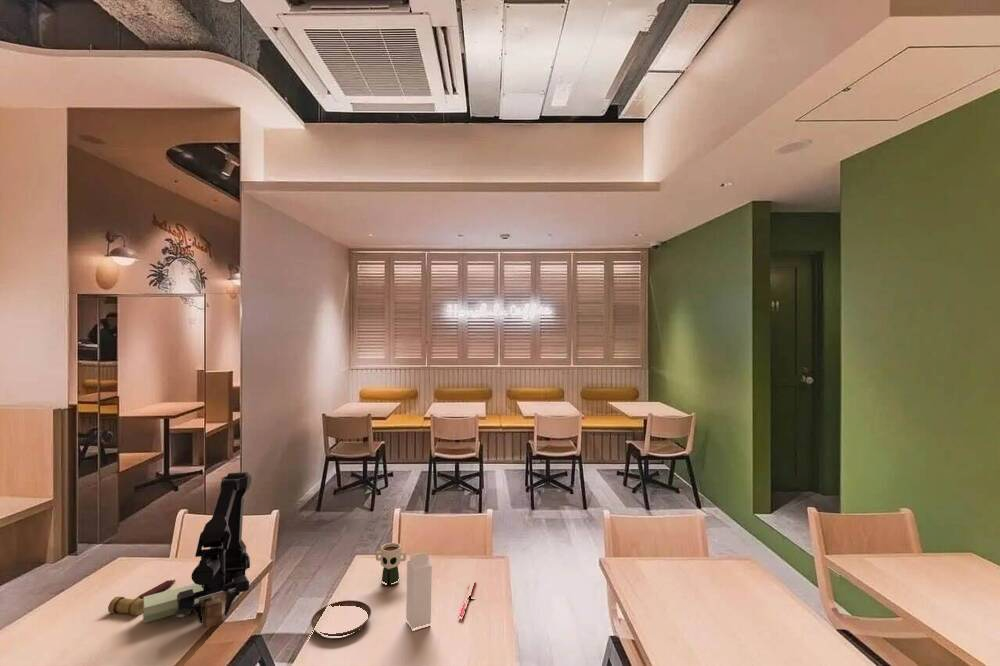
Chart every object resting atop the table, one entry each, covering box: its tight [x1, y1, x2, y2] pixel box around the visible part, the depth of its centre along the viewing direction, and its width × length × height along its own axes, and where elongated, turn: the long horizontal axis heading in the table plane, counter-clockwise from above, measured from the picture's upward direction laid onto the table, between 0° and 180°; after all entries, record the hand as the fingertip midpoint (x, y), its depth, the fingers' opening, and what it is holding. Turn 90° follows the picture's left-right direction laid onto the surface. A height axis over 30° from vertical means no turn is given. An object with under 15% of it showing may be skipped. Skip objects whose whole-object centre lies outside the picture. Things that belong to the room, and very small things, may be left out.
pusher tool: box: [203, 597, 223, 629], centre depth 152 cm, size 4×14×6 cm, turn 38°
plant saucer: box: [310, 599, 372, 636], centre depth 149 cm, size 18×18×3 cm
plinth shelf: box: [142, 583, 215, 624], centre depth 152 cm, size 18×8×7 cm, turn 128°
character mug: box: [375, 542, 407, 584], centre depth 174 cm, size 11×7×13 cm, turn 90°
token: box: [175, 608, 192, 621], centre depth 152 cm, size 4×4×2 cm
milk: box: [405, 551, 433, 629], centre depth 149 cm, size 6×6×22 cm
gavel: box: [107, 579, 176, 617], centre depth 161 cm, size 21×5×10 cm
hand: (213, 618), depth 149 cm, fingers open, 6 cm apart
